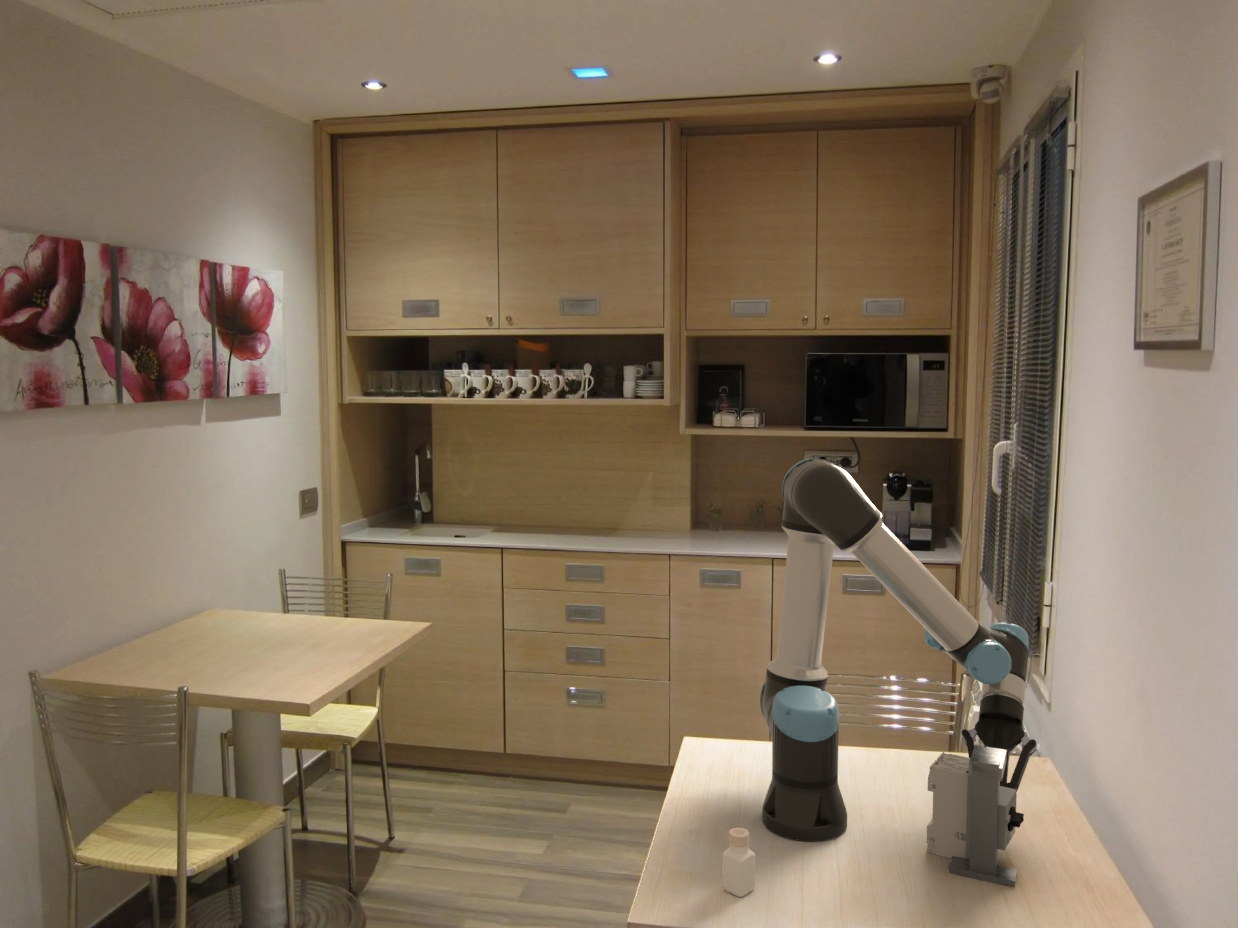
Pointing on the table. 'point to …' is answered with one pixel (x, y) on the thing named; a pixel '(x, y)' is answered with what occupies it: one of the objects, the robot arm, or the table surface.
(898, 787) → the table surface
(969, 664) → the robot arm
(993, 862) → the bracket
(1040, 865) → the table surface
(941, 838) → the circuit breaker
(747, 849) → the pepper shaker
